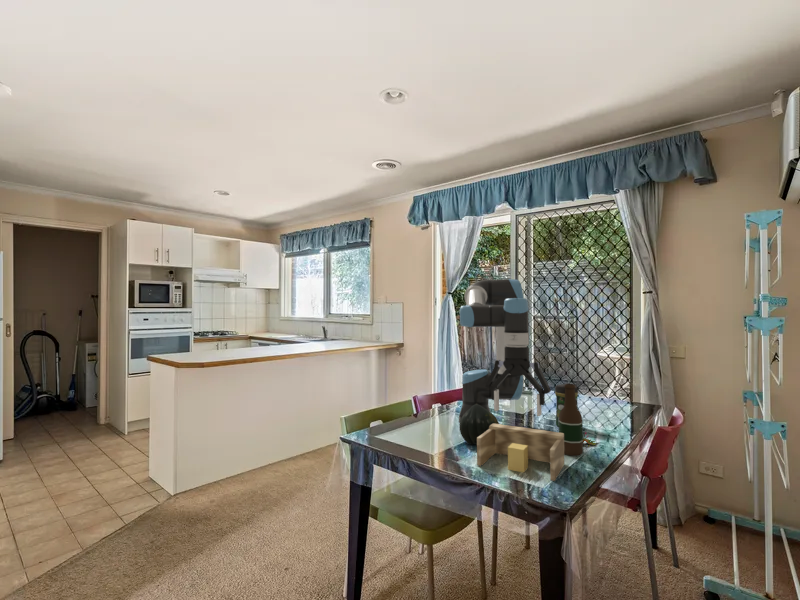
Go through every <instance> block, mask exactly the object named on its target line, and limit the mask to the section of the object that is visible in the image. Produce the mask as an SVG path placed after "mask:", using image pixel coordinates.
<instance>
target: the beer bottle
mask: <svg viewBox="0 0 800 600" xmlns="http://www.w3.org/2000/svg"><path fill="white" fill-rule="evenodd" d="M564 384H565V386H564V387H565V401H564V407H563V408H562V410H561V411H560V414H559V427H558V432H559V433H564V455H567V456H570V457H579V456H581V455H582V454H583V452H584V451H583V450H584V446H583V445H584V442H583V437H584V432H583V430H584V429H583V417H582V414H581V412H580V410H579V408H578V409H577V406H576V398H575V388H576V387H575V385H576V384H575V385H573V384H574V383H570V384H566V383H564Z"/></svg>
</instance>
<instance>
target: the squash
mask: <svg viewBox="0 0 800 600" xmlns="http://www.w3.org/2000/svg"><path fill="white" fill-rule="evenodd" d="M493 423H494V424H500V423H499V421H498V418H497V416H495V415H494V414H493V413H492V412H491V411H490V412H489V411H488V410H486V409H485V408H483V407H482V406H480V405H478V404H475V405H473V406H472V407H471V408H470V409H469V410H468V411H467V412H466V413H465V414H464V415H463V416H462V418H461V420H460V422H459V431H460V435H461V437H462V439H464V442H465V443H466V444H469V445H477V437H479V436H480V435H481V434H483V433H484V432H486V431H487V430H488V429H489V426H490V425H491V424H493Z"/></svg>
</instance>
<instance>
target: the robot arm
mask: <svg viewBox="0 0 800 600" xmlns="http://www.w3.org/2000/svg"><path fill="white" fill-rule="evenodd" d="M464 301H465V303H466V304H465V305H462V306H460V308H459V325H460V326H461V327H467V328H488V327H489V328H496V329H495V330H496V331H495V332H496V360H495V361H494V366H493V369H492V370H491V372H489V370H488V369H473V370H468V371H465V372H464V373H463V374H462V379H461V380H462V382H461V384H462V405H461V407H460V412H459V415H458V422H459V423H460V420H461V418H462V416H463V415H464V414H465V413H466V412H467V411H468V410H469V409H470V408H471V407H472V406H473V405H475V404H478V405H480V406H482V407H483V408H485V409H486V410H488V411H489V412H491V410H490V406H489V405H490V404H489V400H491V401H493V406H494V407H493V408H494V409H493V411H494V412H497V411H499V410H500V401H501V400H503V401H504V400H505V401H517V400H520V398H521V397H522V394H523V391H524V378H526V379H527V380H528V382H529V383H530V384H531V385H532V387H533V388H534V389H535V390H536V392H537V394H536V417H541V416H542V410H543V409H542V406H545V404H546V402H545V401H546V400H545V399H546V397H545V396H546V394H549V393H550V392H551V391H552V390H551V388H550V385H549V383H548V381H547V380H546V378H545V375H544V373H543V372H542V370H541V367H540V366H541V365H540V362H539V361H536V362H530V353H529V352H530V351H529V350H530V349H529V348H530V347H528V346H529V345H530V343H529V342H530V341H529V310H530V309H529V302H528V299H527V298H524V291H523V287H522V283H521V281H520V280H519V279H511V278H508V279H507V278H505V279H503V278H501V279H481V280H478V281H475V282H474V283H472V284H471V285H469V286H468V287H467V288H466V290H465V292H464ZM530 367H531V369H532V370H534V372H535V375H536V376H537V378H538V380H539V382H540V383H539V382H538V381H537V380H536V378H535V377H534V376H533V375H532V373H531V372H530V371H529V369H530ZM540 384H541V385H540Z"/></svg>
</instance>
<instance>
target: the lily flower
mask: <svg viewBox="0 0 800 600" xmlns="http://www.w3.org/2000/svg"><path fill="white" fill-rule="evenodd" d="M587 433H588V432H586V431H585V432H584V433H583V443H585V442H584V441H586V442H587V443H588V444H589V445H588V447H591V446H594V445H596V443H593V442H596V441H595V440H594V441H593V440H592V439H590V440H589V435H587ZM586 435H587V436H586ZM585 436H586V437H585ZM590 441H591V442H590Z"/></svg>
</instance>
